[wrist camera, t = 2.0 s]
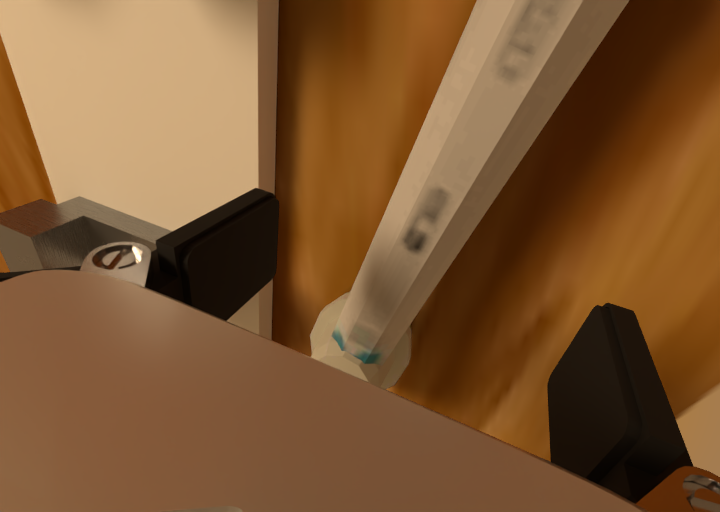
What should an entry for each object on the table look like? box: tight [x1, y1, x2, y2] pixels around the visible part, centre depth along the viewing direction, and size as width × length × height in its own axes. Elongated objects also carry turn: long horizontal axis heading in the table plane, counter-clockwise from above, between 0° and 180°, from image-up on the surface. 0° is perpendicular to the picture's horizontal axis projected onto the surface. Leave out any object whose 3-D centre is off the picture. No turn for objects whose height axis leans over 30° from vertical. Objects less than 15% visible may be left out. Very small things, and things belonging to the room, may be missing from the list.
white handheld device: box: [310, 0, 629, 389], centre depth 15 cm, size 5×7×25 cm
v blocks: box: [0, 196, 172, 272], centre depth 18 cm, size 22×14×4 cm, turn 171°
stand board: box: [0, 0, 279, 340], centre depth 20 cm, size 30×16×2 cm, turn 171°
